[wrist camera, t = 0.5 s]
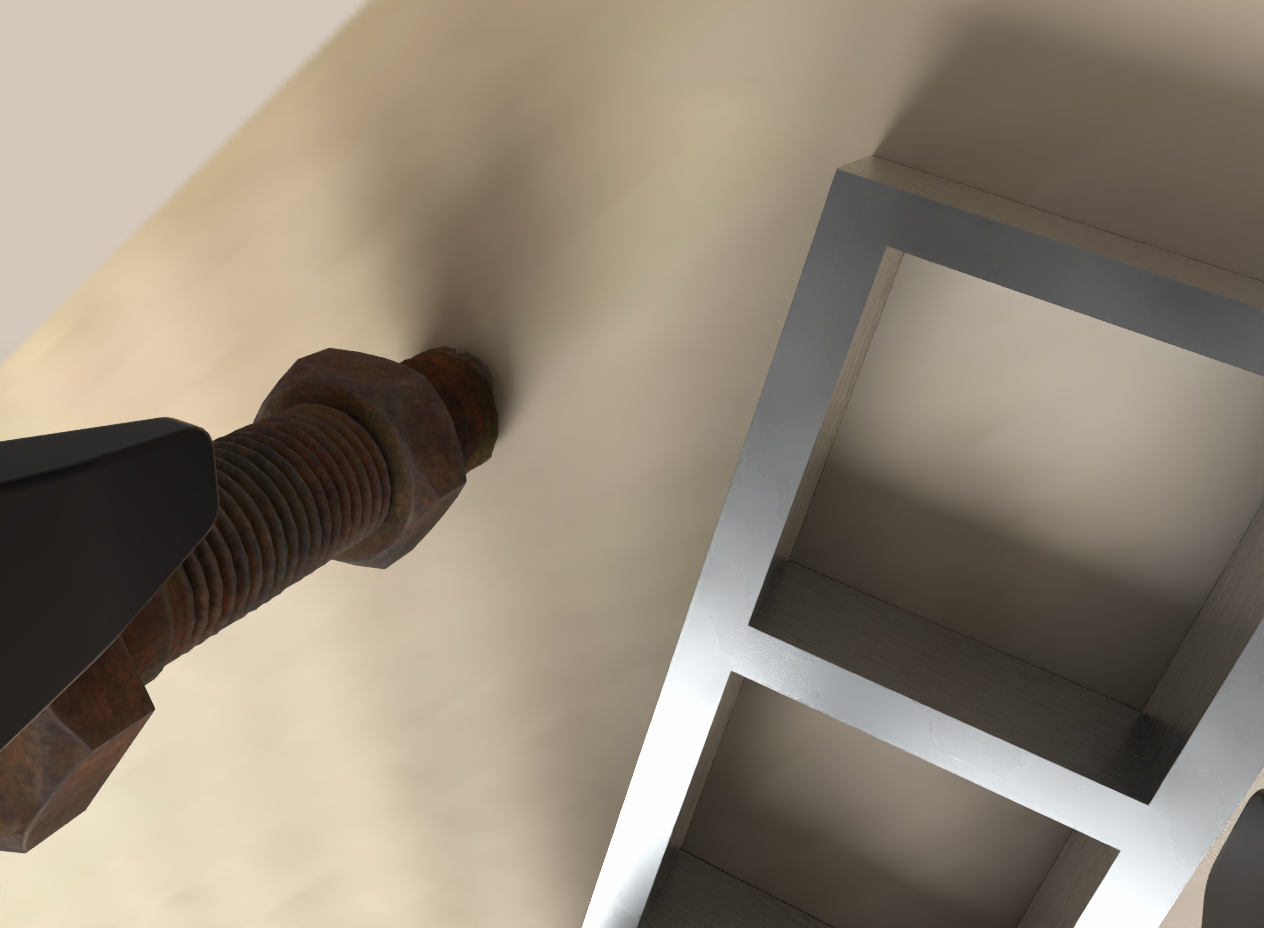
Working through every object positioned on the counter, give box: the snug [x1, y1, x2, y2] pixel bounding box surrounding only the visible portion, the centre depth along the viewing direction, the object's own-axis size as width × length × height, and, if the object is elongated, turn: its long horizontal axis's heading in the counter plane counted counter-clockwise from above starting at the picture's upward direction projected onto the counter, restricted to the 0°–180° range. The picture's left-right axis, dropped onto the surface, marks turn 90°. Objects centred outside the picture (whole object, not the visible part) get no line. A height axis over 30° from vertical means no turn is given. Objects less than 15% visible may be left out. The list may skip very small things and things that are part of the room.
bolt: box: [0, 347, 498, 853], centre depth 22 cm, size 6×5×15 cm
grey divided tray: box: [582, 155, 1264, 928], centre depth 24 cm, size 20×11×4 cm, turn 165°
